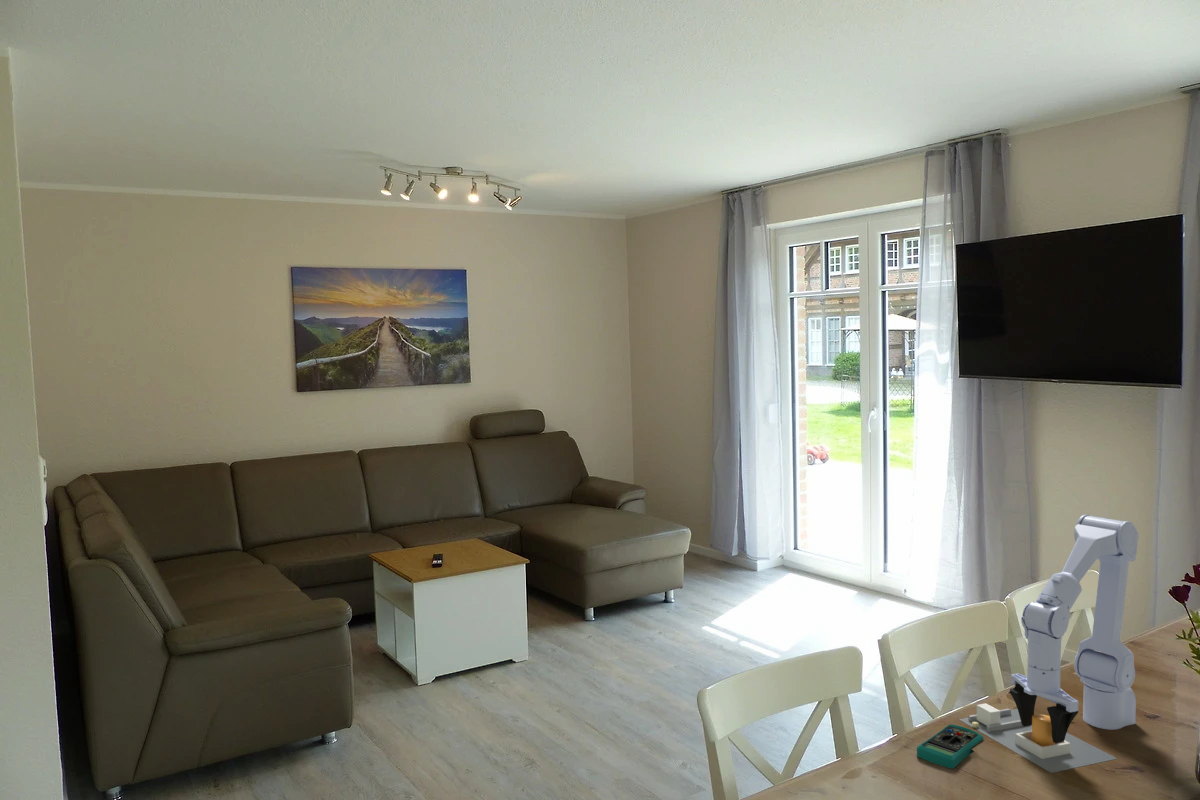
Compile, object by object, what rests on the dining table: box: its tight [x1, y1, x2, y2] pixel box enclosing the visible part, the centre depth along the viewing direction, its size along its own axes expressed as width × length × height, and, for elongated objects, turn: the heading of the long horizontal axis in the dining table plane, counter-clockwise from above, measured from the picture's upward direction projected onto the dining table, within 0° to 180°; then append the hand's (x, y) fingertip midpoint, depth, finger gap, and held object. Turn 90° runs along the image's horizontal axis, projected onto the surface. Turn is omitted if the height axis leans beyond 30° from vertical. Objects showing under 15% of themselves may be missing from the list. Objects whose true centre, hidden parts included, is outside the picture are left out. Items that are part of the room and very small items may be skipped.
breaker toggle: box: [976, 702, 1000, 726], centre depth 178 cm, size 2×4×3 cm, turn 18°
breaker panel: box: [958, 708, 1118, 774], centre depth 172 cm, size 16×24×3 cm, turn 18°
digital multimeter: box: [916, 723, 984, 770], centre depth 170 cm, size 7×15×3 cm, turn 134°
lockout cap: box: [1032, 713, 1055, 747], centre depth 167 cm, size 4×4×6 cm
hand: (1042, 733), depth 167 cm, fingers open, 7 cm apart
